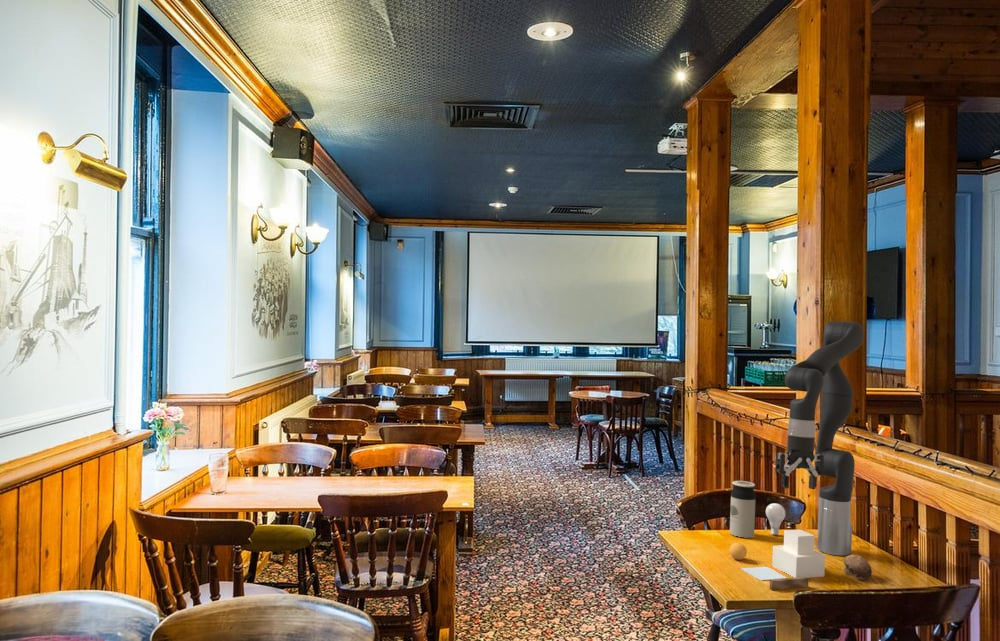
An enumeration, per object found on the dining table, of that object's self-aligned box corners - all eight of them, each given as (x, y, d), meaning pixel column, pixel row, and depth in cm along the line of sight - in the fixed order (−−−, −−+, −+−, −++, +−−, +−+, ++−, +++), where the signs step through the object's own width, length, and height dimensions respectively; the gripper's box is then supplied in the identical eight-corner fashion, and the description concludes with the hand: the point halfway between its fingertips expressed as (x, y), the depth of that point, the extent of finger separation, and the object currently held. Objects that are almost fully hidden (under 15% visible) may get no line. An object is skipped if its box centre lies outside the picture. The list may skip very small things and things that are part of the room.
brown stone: (833, 558, 198) (847, 546, 195) (856, 569, 198) (870, 556, 195) (842, 580, 191) (856, 567, 188) (865, 590, 191) (880, 578, 188)
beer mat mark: (766, 567, 197) (766, 566, 197) (787, 578, 189) (787, 577, 189) (740, 569, 195) (740, 568, 195) (760, 580, 186) (760, 580, 186)
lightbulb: (786, 538, 226) (787, 506, 226) (766, 536, 227) (768, 505, 227) (782, 533, 232) (783, 502, 232) (763, 531, 234) (764, 500, 234)
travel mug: (748, 531, 232) (750, 480, 233) (757, 539, 224) (759, 486, 225) (726, 531, 232) (728, 480, 232) (734, 538, 224) (736, 485, 224)
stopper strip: (805, 585, 184) (805, 576, 184) (808, 587, 183) (808, 578, 183) (769, 588, 181) (769, 579, 181) (772, 590, 180) (772, 581, 180)
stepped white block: (799, 563, 201) (801, 527, 202) (824, 576, 192) (825, 537, 192) (772, 566, 199) (773, 528, 199) (795, 578, 189) (797, 539, 189)
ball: (739, 556, 206) (740, 540, 207) (749, 561, 202) (750, 545, 202) (725, 557, 205) (726, 540, 205) (736, 562, 200) (736, 546, 200)
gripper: (815, 433, 203) (812, 486, 202) (772, 431, 201) (769, 484, 200) (831, 437, 195) (828, 492, 195) (786, 435, 193) (783, 490, 193)
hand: (798, 488), depth 197 cm, fingers open, 8 cm apart
